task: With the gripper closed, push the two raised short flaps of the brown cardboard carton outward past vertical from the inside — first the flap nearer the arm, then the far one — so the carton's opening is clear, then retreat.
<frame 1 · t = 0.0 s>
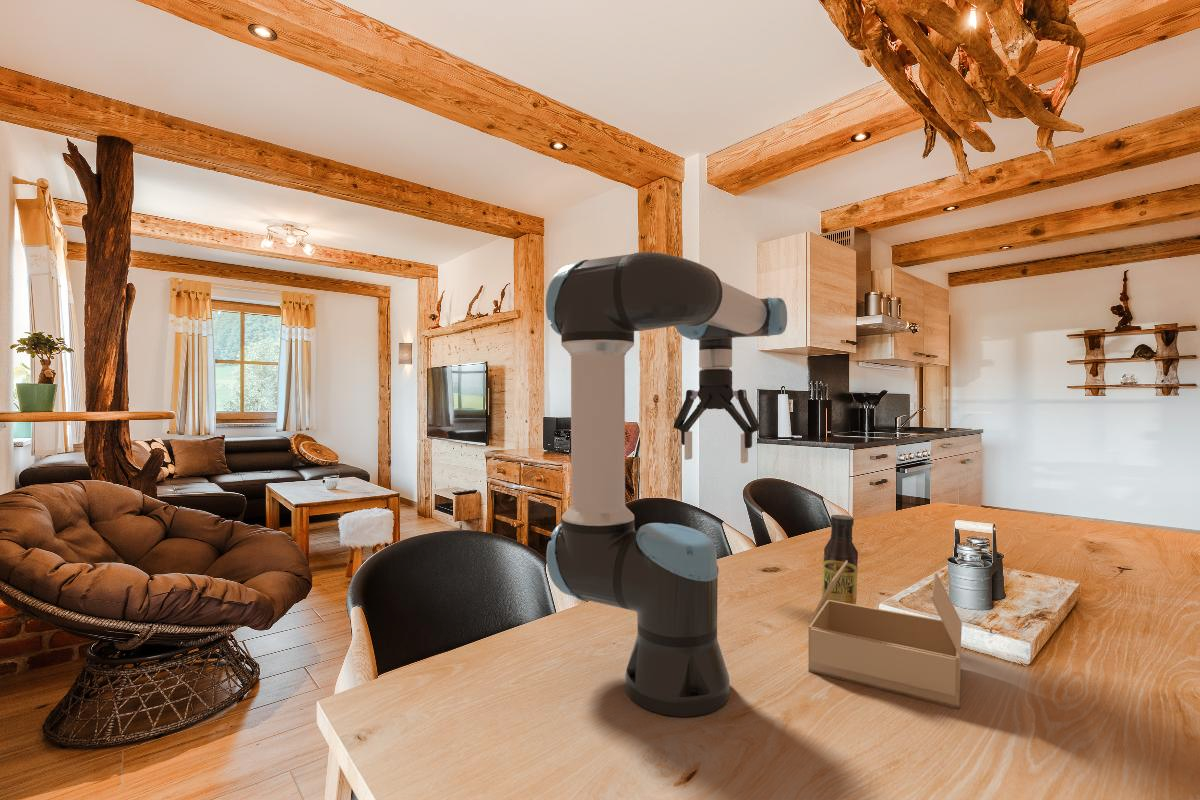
hand: (715, 461, 133), 28 cm above the table, fingers open, 13 cm apart
sauce bottle: (839, 620, 111), on the table
flap inner: (829, 590, 95), point 11 cm above the table, hinge at 25.0°
flap outer: (946, 610, 86), point 11 cm above the table, hinge at 25.0°
carton: (885, 669, 90), on the table
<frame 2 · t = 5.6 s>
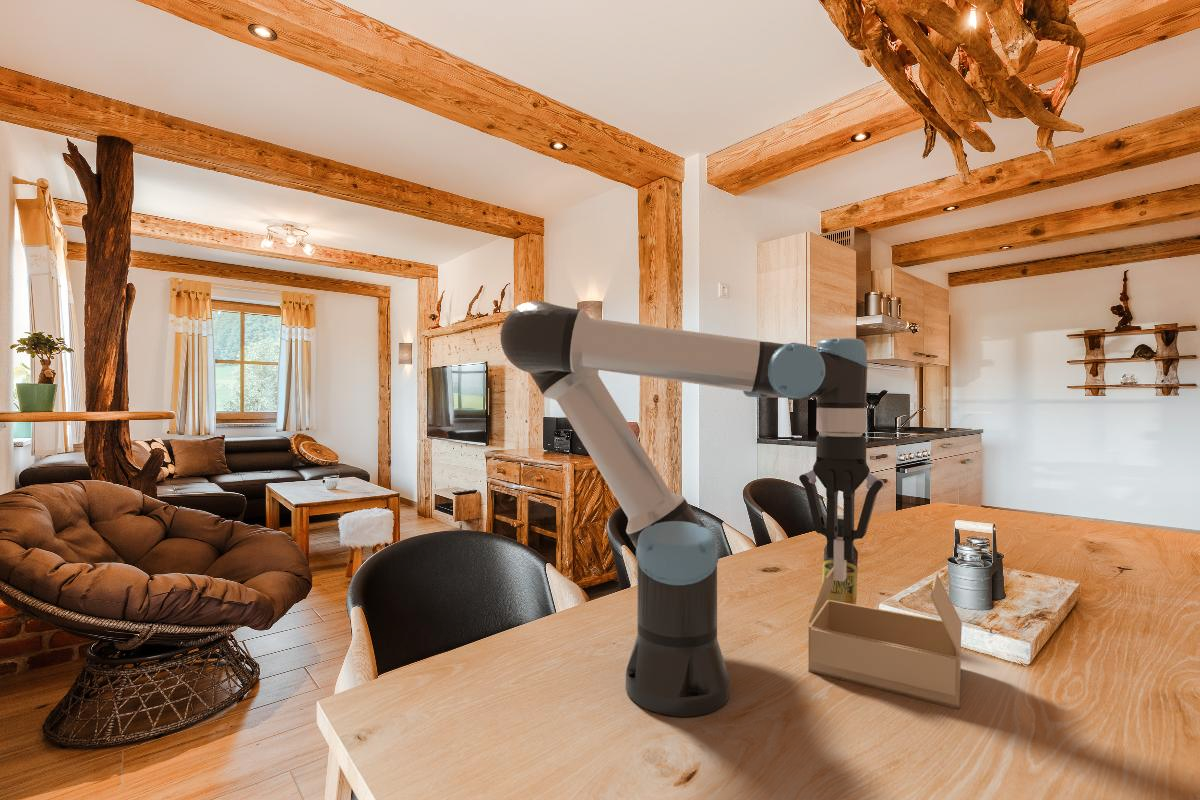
hand: (839, 578, 94), 13 cm above the table, fingers closed
flap inner: (826, 588, 95), point 11 cm above the table, hinge at 18.0°, touching gripper
everything else where it was.
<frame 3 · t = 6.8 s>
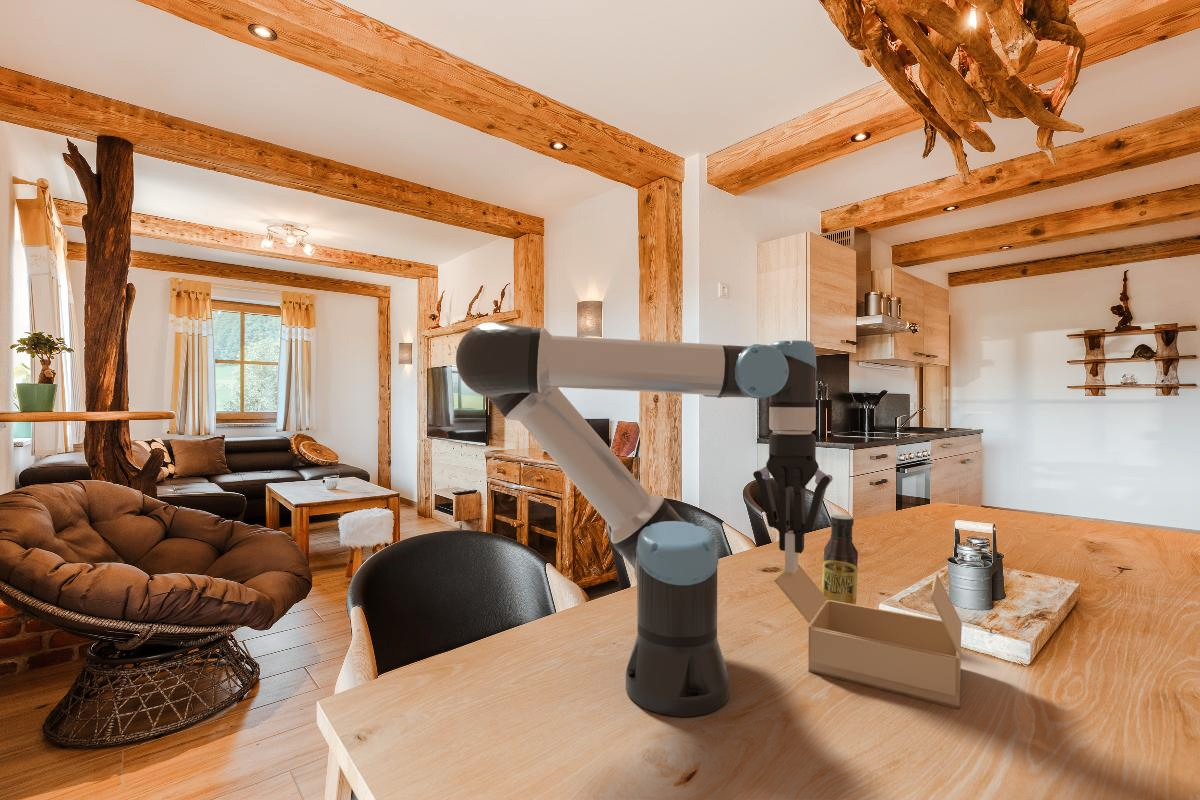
hand: (791, 570, 98), 13 cm above the table, fingers closed
flap inner: (801, 589, 97), point 10 cm above the table, hinge at -43.4°
everything else where it was.
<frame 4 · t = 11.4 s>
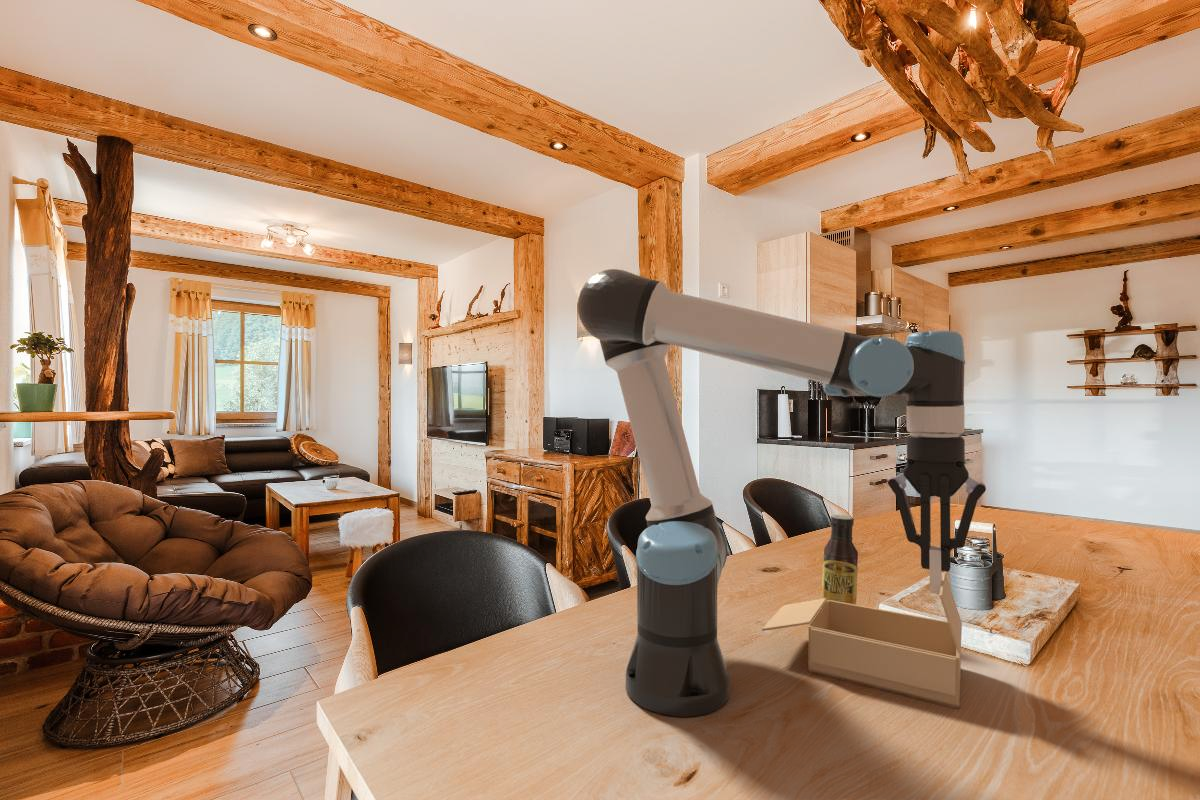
hand: (935, 591, 87), 14 cm above the table, fingers closed
flap inner: (795, 613, 98), point 6 cm above the table, hinge at -110.3°
flap outer: (951, 609, 86), point 11 cm above the table, hinge at 16.4°, touching gripper
everything else where it was.
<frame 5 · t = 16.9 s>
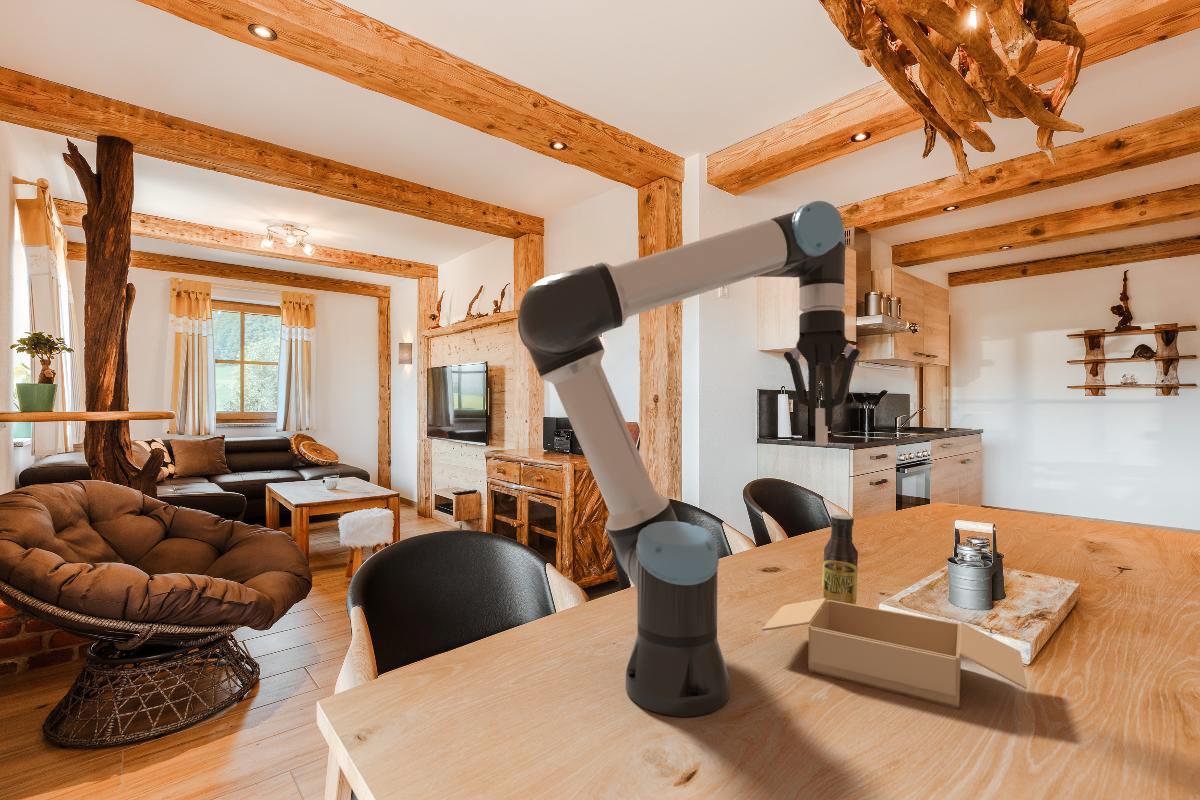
hand: (821, 444, 102), 34 cm above the table, fingers closed
flap outer: (990, 652, 83), point 6 cm above the table, hinge at -110.4°
everything else where it was.
at the end: flap inner at -110° (first picture: +25°); flap outer at -110° (first picture: +25°) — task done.
